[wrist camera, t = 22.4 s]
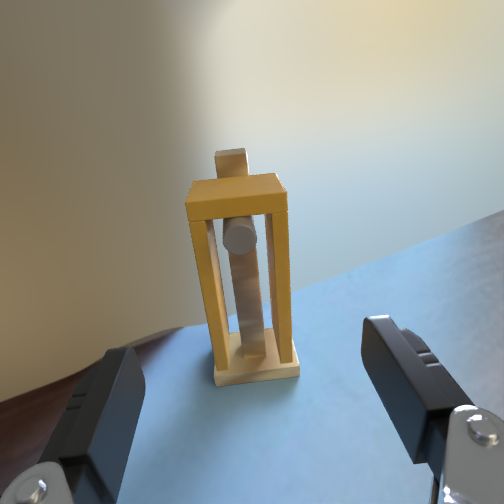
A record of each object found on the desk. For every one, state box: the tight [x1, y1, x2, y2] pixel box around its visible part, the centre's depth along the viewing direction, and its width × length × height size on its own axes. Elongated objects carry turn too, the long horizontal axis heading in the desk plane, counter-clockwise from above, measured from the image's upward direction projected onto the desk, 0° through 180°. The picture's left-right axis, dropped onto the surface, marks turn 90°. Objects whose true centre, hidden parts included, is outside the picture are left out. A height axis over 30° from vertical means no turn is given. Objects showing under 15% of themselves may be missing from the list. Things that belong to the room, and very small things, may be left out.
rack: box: [214, 148, 300, 387], centre depth 22 cm, size 7×10×18 cm
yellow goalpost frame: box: [185, 173, 293, 371], centre depth 19 cm, size 5×4×11 cm
